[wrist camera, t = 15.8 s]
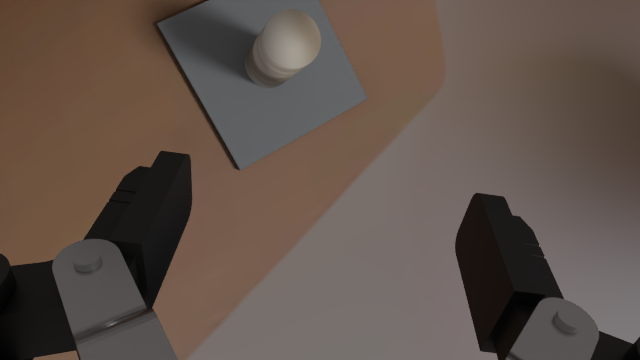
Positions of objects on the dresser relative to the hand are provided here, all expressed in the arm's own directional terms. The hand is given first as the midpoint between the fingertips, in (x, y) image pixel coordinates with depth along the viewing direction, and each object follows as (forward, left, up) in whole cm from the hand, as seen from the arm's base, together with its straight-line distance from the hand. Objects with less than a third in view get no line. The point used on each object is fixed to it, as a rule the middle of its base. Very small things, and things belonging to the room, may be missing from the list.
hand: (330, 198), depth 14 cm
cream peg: (+11, +7, -35) cm, 38 cm away
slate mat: (+11, +7, -36) cm, 38 cm away
